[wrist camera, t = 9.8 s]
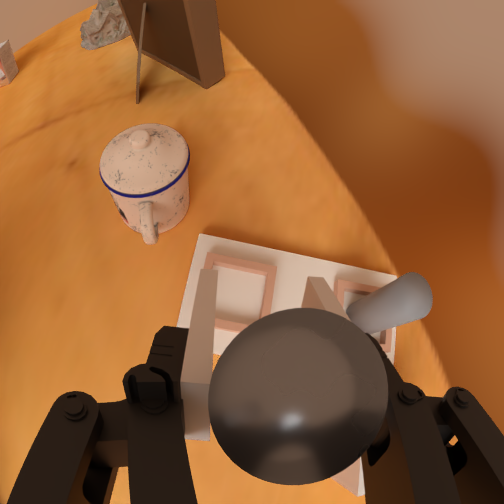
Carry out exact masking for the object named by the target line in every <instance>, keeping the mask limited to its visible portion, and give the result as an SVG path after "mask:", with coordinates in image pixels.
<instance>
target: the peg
mask: <svg viewBox="0 0 504 504" xmlns="http://www.w3.org/2000/svg"><path fill="white" fill-rule="evenodd" d="M387 402H388V381H387V374H386V370H385V366H384V363H383V361H382V358H381V356H380V354H379V352H378V350H377V348H376V347H375V345H374V344H373V342H372V341H371V340H370V338H369V337H368V336H367V335H366V334H365V333H364V332H363V331H362V330H361V329H360V328H359V327H358V326H356V325H355V324H354V323H352V322H351V321H349V320H347V319H346V318H344V317H342V316H340V315H337V314H335V313H333V312H329V311H326V310H322V309H315V308H293V309H286V310H282V311H278V312H275V313H272V314H269V315H267V316H264V317H262V318H261V319H259V320H257V321H255V322H253V323H252V324H250V325H249V326H248V327H246V328H245V329H243V330H242V331H241V332H240V333H239V334H238V335H237V336H236V337H235V338H234V339H233V340H232V341H231V342H230V344H229V345H228V346H227V347H226V349H225V350H224V352H223V353H222V355H221V357H220V358H219V360H218V362H217V364H216V367H215V369H214V371H213V373H212V378H211V381H210V387H209V393H208V411H209V418H210V423H211V426H212V429H213V432H214V435H215V437H216V439H217V441H218V443H219V445H220V446H221V448H222V449H223V451H224V452H225V453H226V455H227V456H228V457H229V458H230V459H231V460H232V461H233V462H234V463H235V464H236V465H237V466H239V467H240V468H241V469H242V470H244V471H246V472H247V473H249V474H251V475H252V476H255V477H257V478H259V479H262V480H264V481H268V482H272V483H276V484H283V485H303V484H310V483H314V482H318V481H322V480H325V479H327V478H330V477H332V476H334V475H336V474H338V473H340V472H342V471H343V470H345V469H346V468H348V467H349V466H350V465H352V464H353V463H354V462H355V461H356V460H358V459H359V458H360V457H361V456H362V455H363V454H364V452H365V451H366V450H367V449H368V448H369V447H370V445H371V444H372V442H373V441H374V439H375V438H376V436H377V434H378V432H379V430H380V428H381V425H382V423H383V420H384V417H385V413H386V409H387Z"/></svg>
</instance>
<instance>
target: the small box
mask: <svg viewBox="0 0 504 504" xmlns="http://www.w3.org/2000/svg"><path fill="white" fill-rule="evenodd" d="M18 72H19V70H18V67H17V64H16V61H15V58H14V55H13V52H12V49H11V47H10V43H9V40H7V41H5V42H3V43H1V44H0V87H2V86H5V85H8V84H10V83H11V81H12V80H13V78H14V77H15V76H16V74H17V73H18Z"/></svg>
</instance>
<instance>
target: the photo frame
mask: <svg viewBox="0 0 504 504" xmlns="http://www.w3.org/2000/svg"><path fill="white" fill-rule="evenodd" d="M117 1H118V3H119V6H120V9H121V11H122V14H123V16H124V19H125V21H126V24H127V26H128V28H129V31H130V33H131V36H132V38H133V41H134V43H135V46H136V48H137V50H138V65H137V85H136V104H138V103H139V84H140V64H141V53H143V54H144V55H146V56H148V57H150V58H152V59H154V60H156V61H158V62H160V63H161V64H163V65H165V66H167V67H169V68H171V69H172V70H174V71H176V72H178V73H179V74H181V75H183V76H185V77H186V78H188V79H190V80H191V81H193V82H195V83H196V84H198V85H200V86H201V87H203V88H205V89H208V88H209V87H211V86H212V85H213V84H215V83H216V82H217V81H219V80H220V79H222V78H223V77H225V71H224V63H223V56H222V48H221V40H220V32H219V24H218V17H217V9H216V1H215V0H117Z"/></svg>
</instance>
